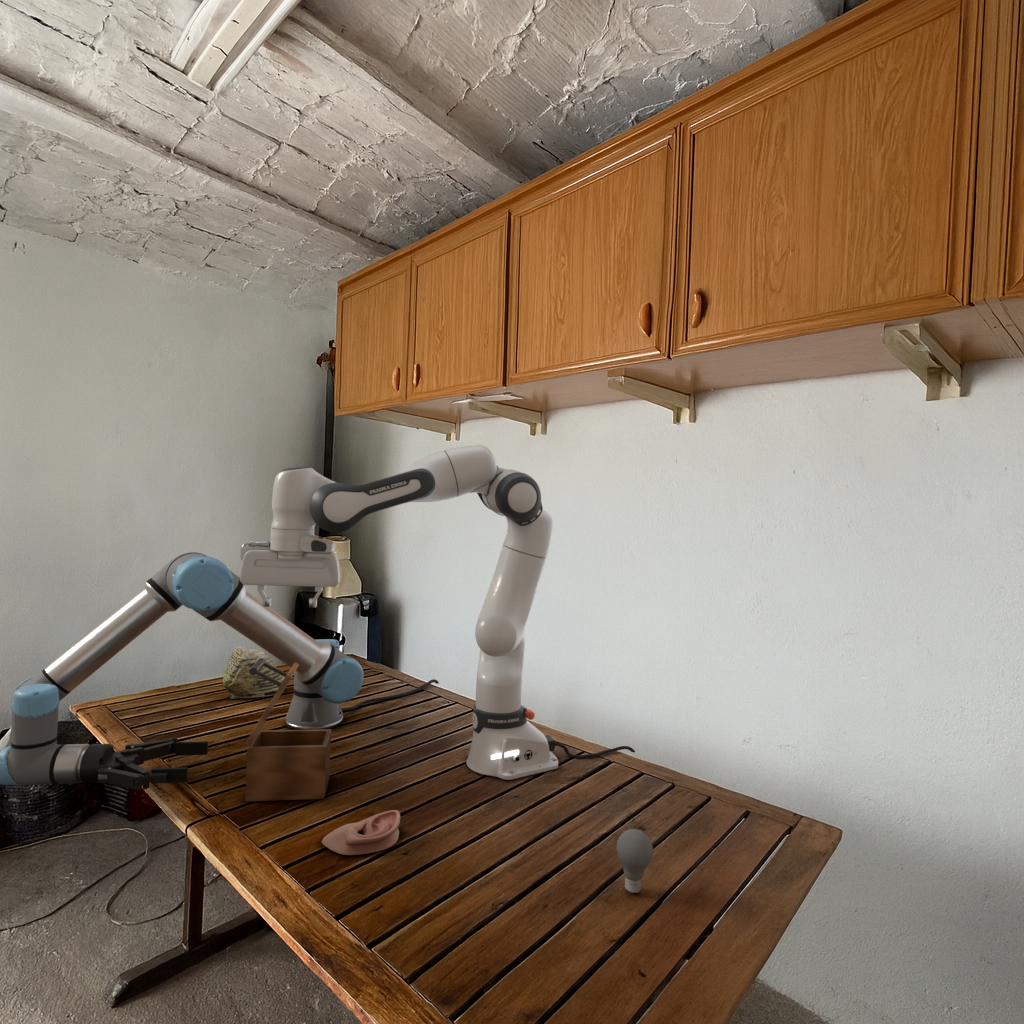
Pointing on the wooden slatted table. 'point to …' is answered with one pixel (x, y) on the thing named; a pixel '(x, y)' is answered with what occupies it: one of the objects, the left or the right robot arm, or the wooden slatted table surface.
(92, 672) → the left robot arm
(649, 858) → the light bulb
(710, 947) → the wooden slatted table surface
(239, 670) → the fossil
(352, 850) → the anatomical model
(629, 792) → the wooden slatted table surface
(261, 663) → the lid
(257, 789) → the chest
